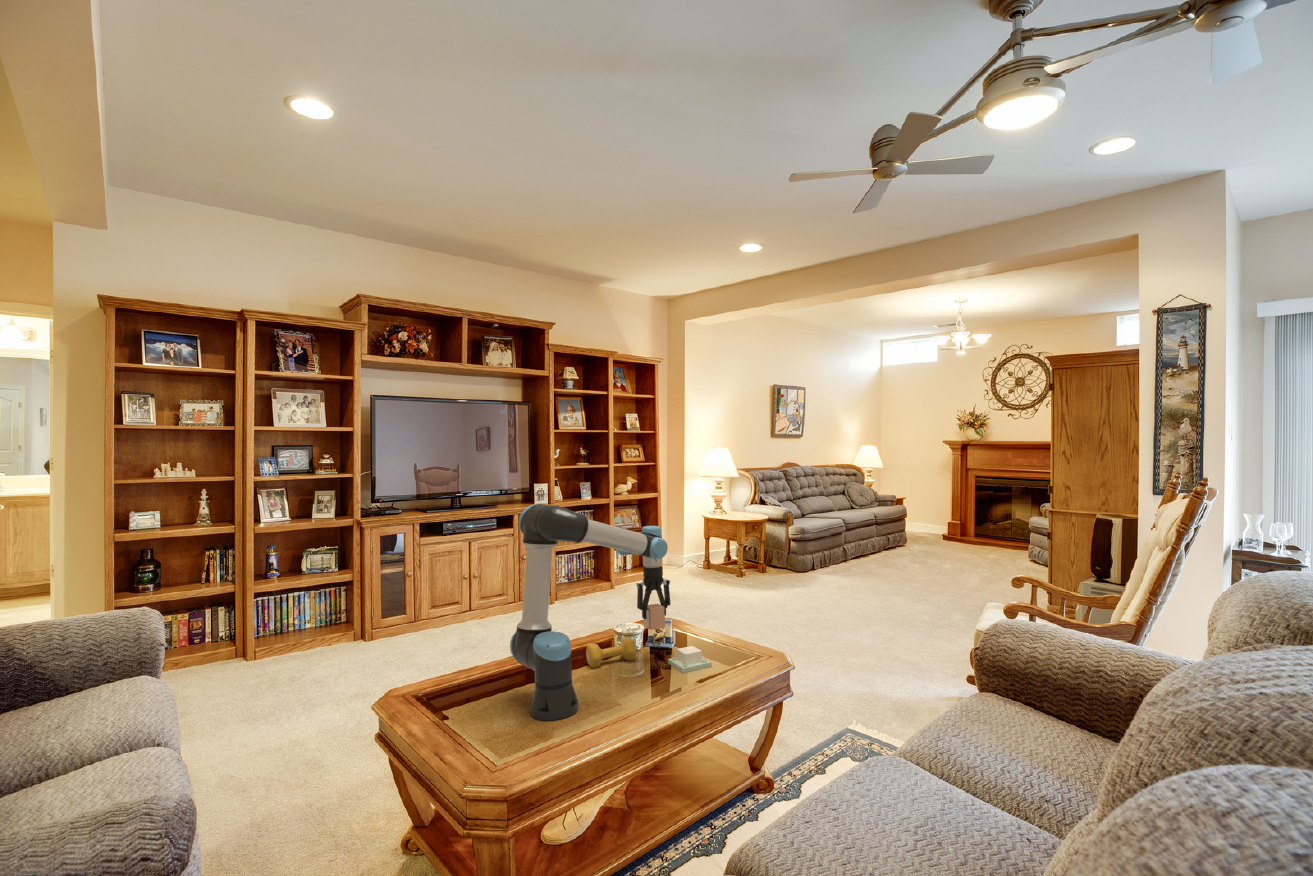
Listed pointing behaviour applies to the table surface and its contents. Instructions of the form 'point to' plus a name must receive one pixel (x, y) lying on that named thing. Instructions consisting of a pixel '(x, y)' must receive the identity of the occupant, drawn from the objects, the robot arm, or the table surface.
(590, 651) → the dumbbell
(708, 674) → the table surface
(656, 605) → the top brick
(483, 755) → the table surface
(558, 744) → the table surface
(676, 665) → the tower base
